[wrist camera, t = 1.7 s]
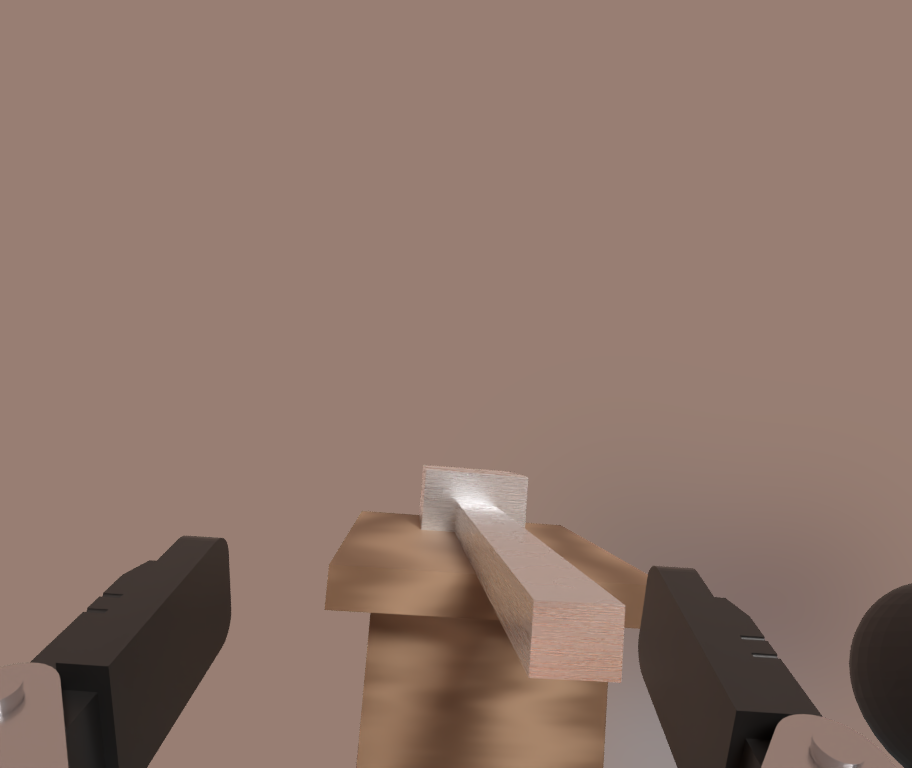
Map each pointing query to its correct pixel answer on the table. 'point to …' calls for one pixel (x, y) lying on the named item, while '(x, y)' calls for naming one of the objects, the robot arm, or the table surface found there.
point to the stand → (463, 654)
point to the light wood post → (526, 576)
